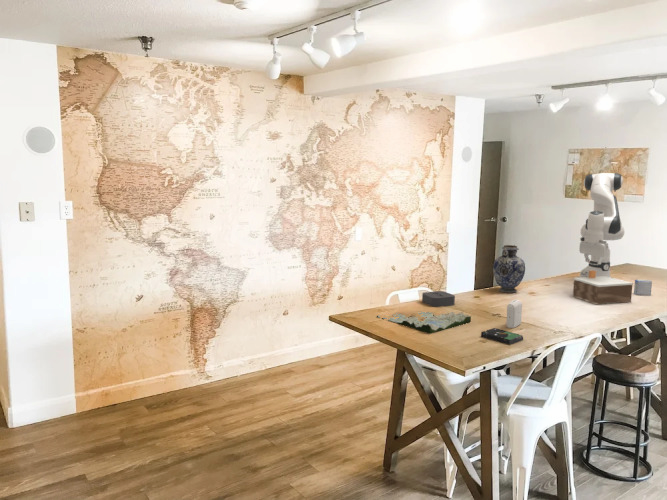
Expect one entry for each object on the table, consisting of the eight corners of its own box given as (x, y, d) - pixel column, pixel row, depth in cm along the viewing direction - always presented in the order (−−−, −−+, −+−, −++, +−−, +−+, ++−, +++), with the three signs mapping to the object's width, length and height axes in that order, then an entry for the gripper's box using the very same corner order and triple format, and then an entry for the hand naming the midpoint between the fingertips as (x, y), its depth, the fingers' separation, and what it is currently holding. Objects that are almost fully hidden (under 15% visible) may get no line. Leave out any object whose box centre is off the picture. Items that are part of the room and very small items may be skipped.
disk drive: (480, 338, 234) (510, 346, 223) (480, 332, 234) (510, 339, 223) (493, 333, 241) (523, 341, 229) (494, 327, 240) (523, 334, 229)
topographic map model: (376, 318, 266) (376, 308, 265) (416, 309, 284) (416, 300, 283) (430, 335, 238) (430, 324, 238) (470, 323, 256) (471, 313, 256)
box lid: (573, 279, 308) (574, 271, 307) (606, 277, 313) (606, 269, 312) (598, 286, 288) (599, 277, 287) (633, 284, 293) (633, 275, 293)
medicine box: (647, 293, 315) (648, 279, 314) (651, 295, 311) (652, 281, 309) (633, 293, 316) (634, 279, 315) (636, 295, 311) (638, 280, 310)
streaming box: (420, 301, 298) (420, 292, 297) (442, 299, 303) (442, 290, 303) (434, 307, 285) (434, 298, 284) (456, 305, 290) (456, 296, 289)
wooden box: (572, 296, 309) (573, 280, 307) (604, 294, 314) (605, 278, 313) (597, 304, 290) (598, 287, 288) (630, 302, 295) (632, 285, 293)
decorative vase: (498, 285, 337) (500, 242, 333) (527, 289, 327) (531, 245, 322) (486, 292, 320) (489, 246, 316) (517, 296, 310) (520, 249, 305)
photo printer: (513, 328, 246) (515, 303, 244) (505, 327, 248) (506, 301, 247) (522, 324, 253) (523, 298, 252) (513, 322, 256) (514, 297, 254)
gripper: (612, 241, 296) (611, 265, 298) (587, 237, 316) (585, 260, 317) (603, 241, 294) (601, 266, 296) (578, 237, 314) (576, 260, 316)
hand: (593, 263), depth 307 cm, fingers open, 8 cm apart
